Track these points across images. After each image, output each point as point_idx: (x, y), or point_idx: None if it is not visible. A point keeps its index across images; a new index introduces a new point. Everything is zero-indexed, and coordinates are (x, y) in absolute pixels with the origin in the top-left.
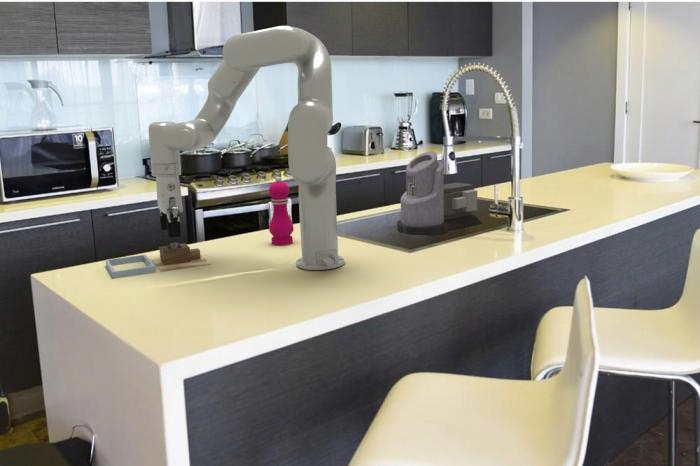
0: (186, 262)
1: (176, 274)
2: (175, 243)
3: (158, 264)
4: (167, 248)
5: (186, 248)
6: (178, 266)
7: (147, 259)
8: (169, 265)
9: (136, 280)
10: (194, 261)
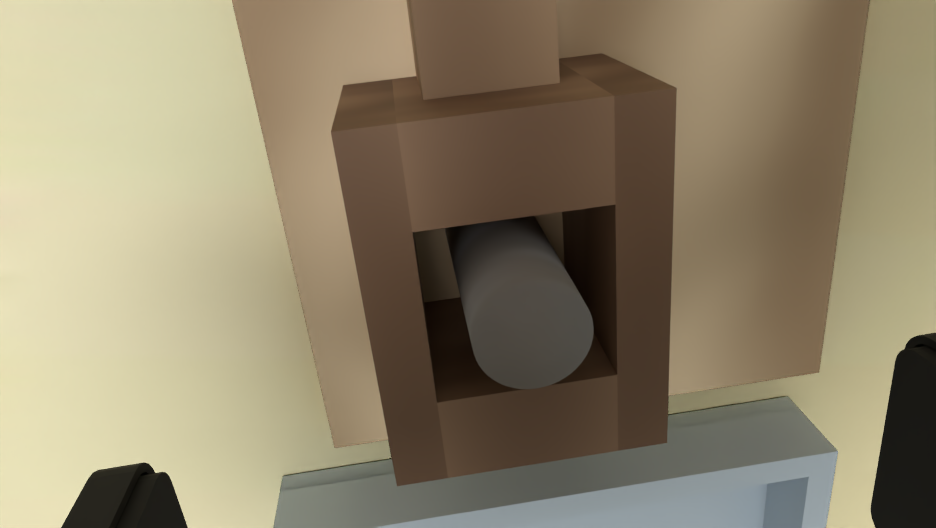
0: None
1: (881, 232)
2: (552, 316)
3: None
4: (562, 394)
5: (671, 138)
6: (733, 211)
7: (522, 518)
8: None
9: (833, 518)
10: (615, 6)
